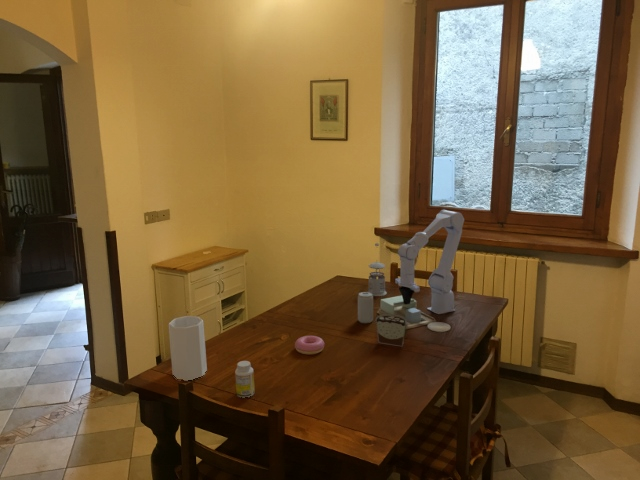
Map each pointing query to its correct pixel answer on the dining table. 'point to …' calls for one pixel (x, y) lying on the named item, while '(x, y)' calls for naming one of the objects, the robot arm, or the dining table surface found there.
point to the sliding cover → (395, 304)
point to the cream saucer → (439, 327)
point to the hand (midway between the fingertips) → (406, 303)
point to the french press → (377, 284)
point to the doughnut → (309, 345)
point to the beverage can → (365, 307)
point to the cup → (187, 347)
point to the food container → (391, 329)
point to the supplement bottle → (244, 379)
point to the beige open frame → (401, 312)
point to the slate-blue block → (413, 315)
